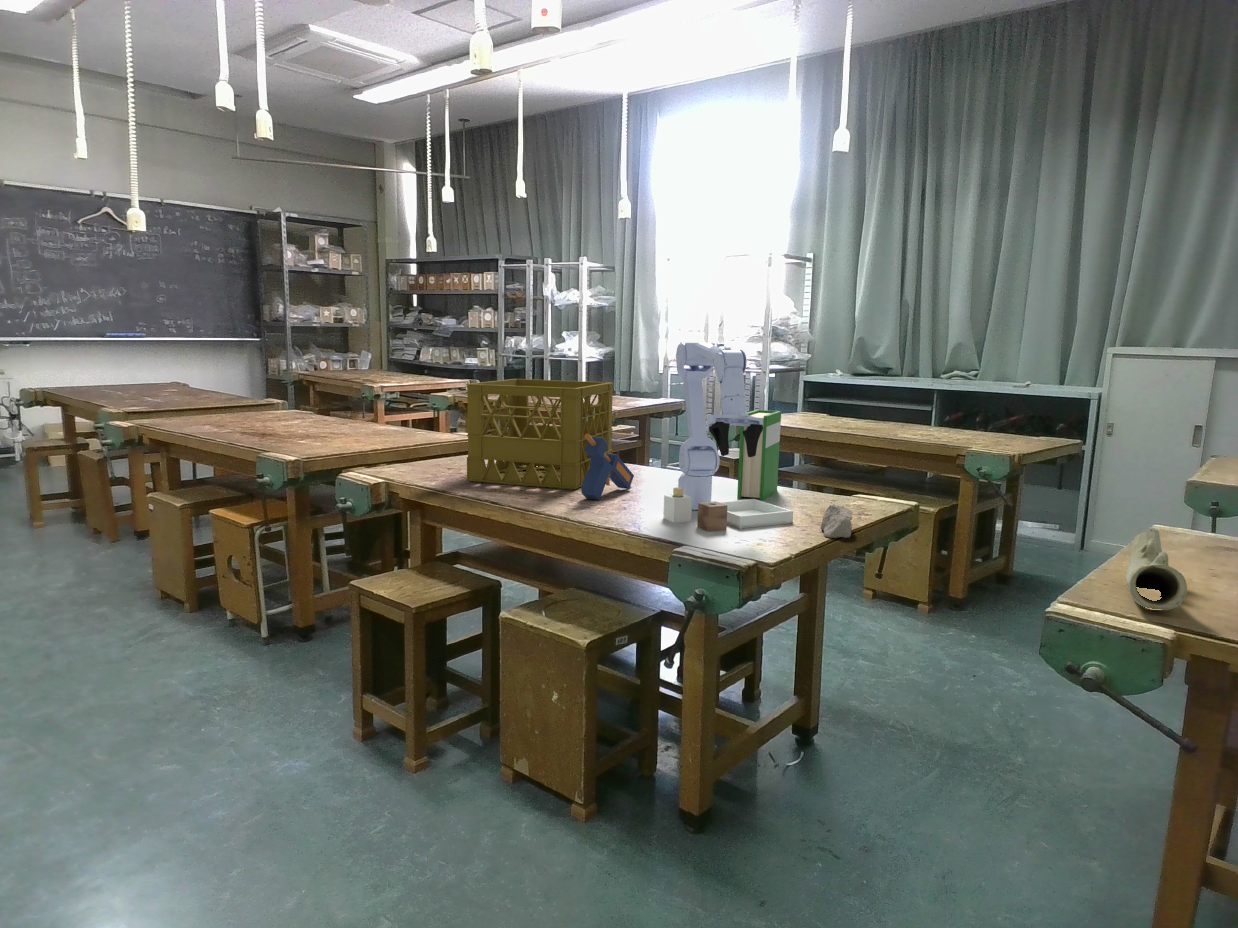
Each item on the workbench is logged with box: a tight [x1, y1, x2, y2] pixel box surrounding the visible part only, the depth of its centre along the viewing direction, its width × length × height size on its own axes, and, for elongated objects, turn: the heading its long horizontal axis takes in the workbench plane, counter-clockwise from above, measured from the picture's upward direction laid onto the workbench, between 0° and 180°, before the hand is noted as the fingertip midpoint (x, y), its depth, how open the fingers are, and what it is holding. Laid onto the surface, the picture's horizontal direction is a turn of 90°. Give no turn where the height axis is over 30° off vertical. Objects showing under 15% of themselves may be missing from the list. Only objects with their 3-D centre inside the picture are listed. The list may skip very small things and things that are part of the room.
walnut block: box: [696, 500, 728, 533], centre depth 189 cm, size 5×5×6 cm
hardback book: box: [736, 409, 782, 502], centre depth 230 cm, size 18×7×24 cm, turn 156°
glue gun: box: [580, 434, 635, 501], centre depth 224 cm, size 6×31×15 cm
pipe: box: [1125, 528, 1188, 611], centre depth 145 cm, size 28×8×10 cm, turn 155°
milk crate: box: [465, 378, 614, 491], centre depth 251 cm, size 36×35×30 cm
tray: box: [718, 498, 794, 530], centre depth 200 cm, size 16×16×3 cm
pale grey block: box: [663, 486, 692, 524], centre depth 197 cm, size 5×5×8 cm
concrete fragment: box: [820, 503, 853, 539], centre depth 188 cm, size 7×14×6 cm, turn 165°
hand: (738, 455), depth 183 cm, fingers open, 7 cm apart
